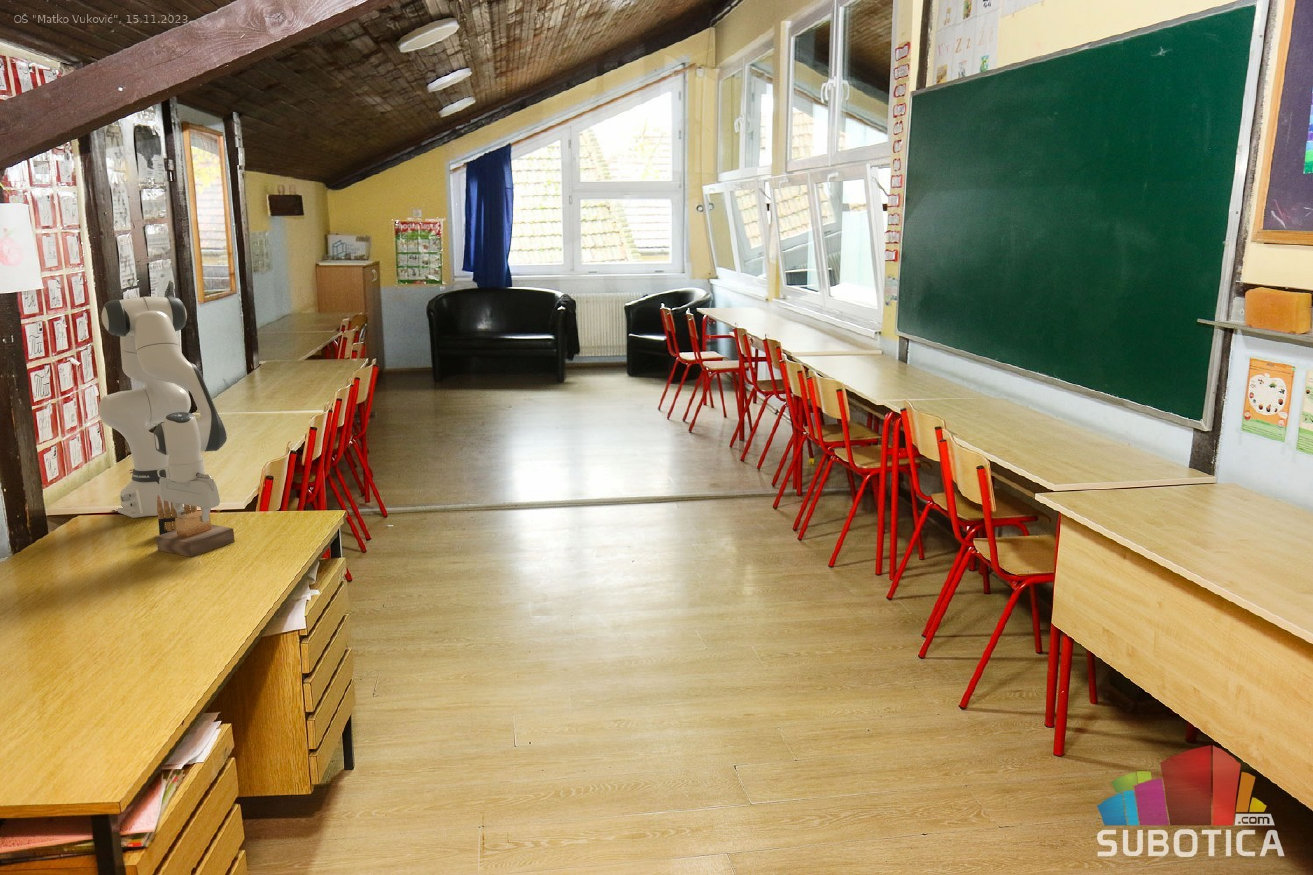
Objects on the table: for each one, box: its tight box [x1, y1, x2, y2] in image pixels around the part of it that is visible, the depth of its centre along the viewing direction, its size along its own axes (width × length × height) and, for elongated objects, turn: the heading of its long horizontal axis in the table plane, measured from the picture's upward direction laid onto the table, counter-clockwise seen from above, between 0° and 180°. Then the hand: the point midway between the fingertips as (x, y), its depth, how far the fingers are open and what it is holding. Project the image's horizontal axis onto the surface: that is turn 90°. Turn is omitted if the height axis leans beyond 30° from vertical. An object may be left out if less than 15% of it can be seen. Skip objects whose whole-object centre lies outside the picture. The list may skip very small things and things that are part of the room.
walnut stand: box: [155, 523, 236, 558], centre depth 270 cm, size 14×14×4 cm
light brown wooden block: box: [175, 510, 212, 537], centre depth 269 cm, size 4×8×5 cm, turn 153°
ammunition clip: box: [157, 495, 198, 535], centre depth 281 cm, size 11×2×12 cm, turn 109°
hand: (193, 519), depth 269 cm, fingers open, 8 cm apart
